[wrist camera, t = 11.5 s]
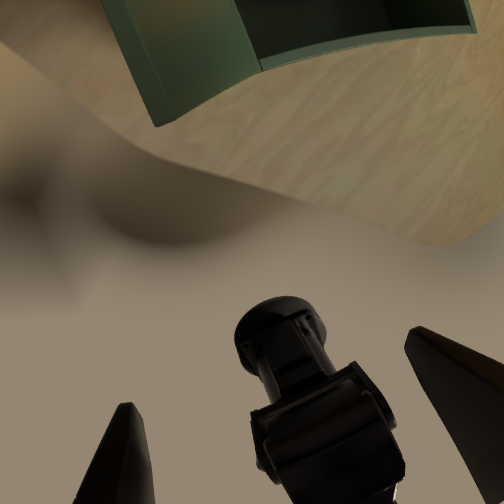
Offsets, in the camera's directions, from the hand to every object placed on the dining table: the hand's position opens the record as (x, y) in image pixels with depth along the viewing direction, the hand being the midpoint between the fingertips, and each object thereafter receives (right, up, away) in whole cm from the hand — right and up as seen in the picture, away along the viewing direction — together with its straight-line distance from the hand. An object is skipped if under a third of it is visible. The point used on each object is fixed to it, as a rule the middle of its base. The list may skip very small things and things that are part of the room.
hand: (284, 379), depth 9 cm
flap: (-4, +13, -6) cm, 15 cm away
